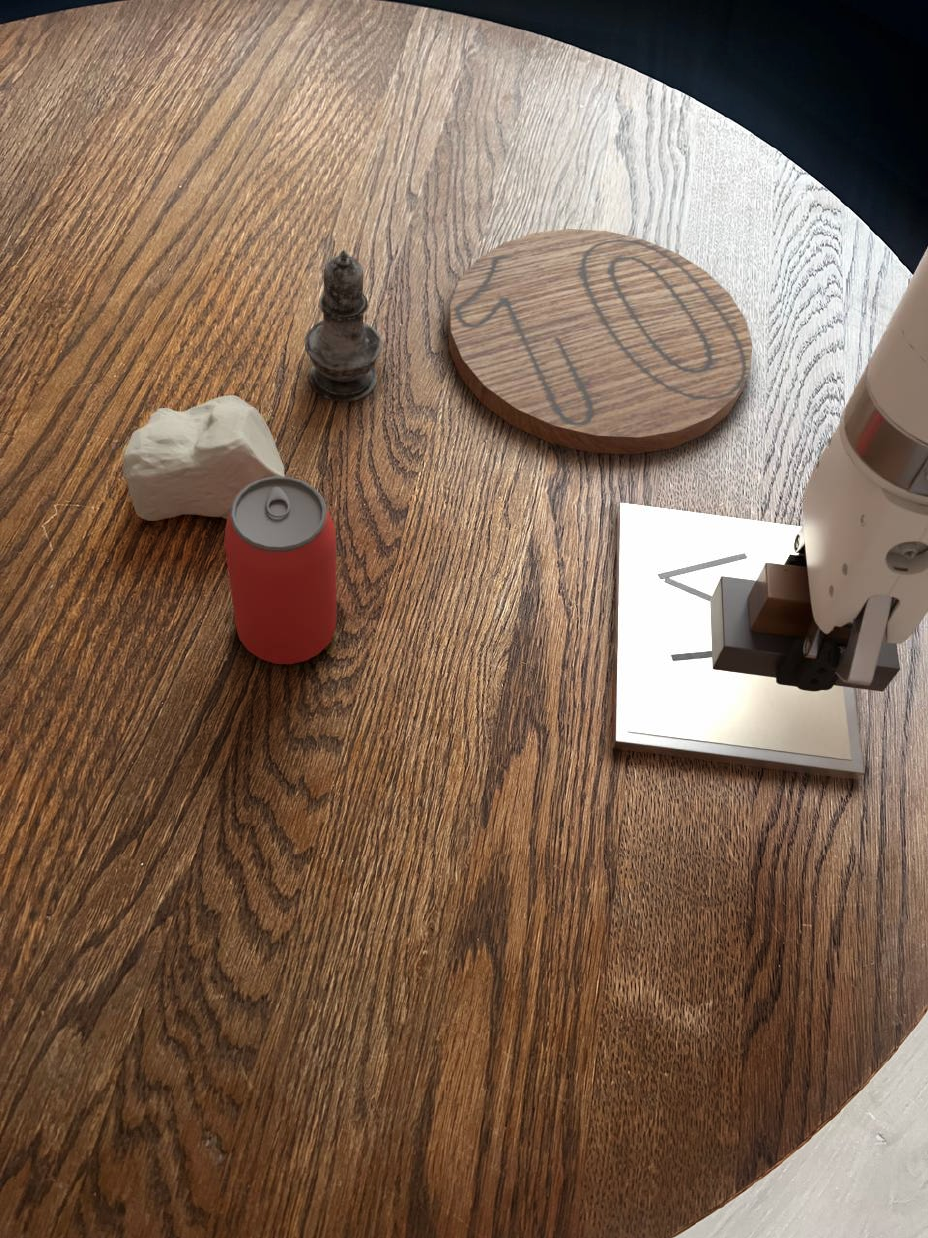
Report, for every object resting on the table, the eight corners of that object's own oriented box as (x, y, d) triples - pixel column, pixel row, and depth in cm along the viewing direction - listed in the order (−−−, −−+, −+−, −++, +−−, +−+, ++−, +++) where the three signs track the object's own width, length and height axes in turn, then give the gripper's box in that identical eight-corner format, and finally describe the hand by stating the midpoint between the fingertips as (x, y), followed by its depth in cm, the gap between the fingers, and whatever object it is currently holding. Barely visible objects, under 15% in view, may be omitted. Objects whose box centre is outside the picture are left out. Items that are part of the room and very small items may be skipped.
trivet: (529, 489, 84) (532, 472, 82) (400, 279, 96) (401, 261, 95) (804, 409, 91) (812, 392, 90) (652, 224, 104) (657, 206, 102)
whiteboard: (858, 780, 72) (865, 772, 71) (612, 748, 72) (615, 740, 71) (830, 539, 84) (835, 529, 83) (617, 511, 84) (620, 501, 83)
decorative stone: (263, 397, 85) (283, 372, 75) (277, 518, 85) (299, 509, 76) (112, 406, 81) (113, 382, 72) (128, 533, 82) (131, 525, 72)
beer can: (331, 583, 77) (329, 464, 68) (342, 664, 74) (342, 551, 64) (233, 591, 76) (217, 472, 66) (239, 674, 73) (223, 560, 63)
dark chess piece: (290, 380, 88) (283, 252, 78) (337, 341, 91) (336, 213, 81) (349, 415, 87) (351, 289, 77) (395, 374, 90) (402, 248, 80)
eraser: (873, 621, 68) (913, 563, 63) (883, 692, 65) (926, 637, 60) (709, 599, 68) (737, 540, 63) (712, 670, 65) (741, 613, 60)
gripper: (1051, 584, 46) (877, 780, 61) (982, 308, 56) (846, 536, 71) (871, 560, 46) (741, 763, 61) (833, 288, 56) (729, 520, 71)
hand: (799, 639), depth 66 cm, fingers closed on eraser, 5 cm apart
